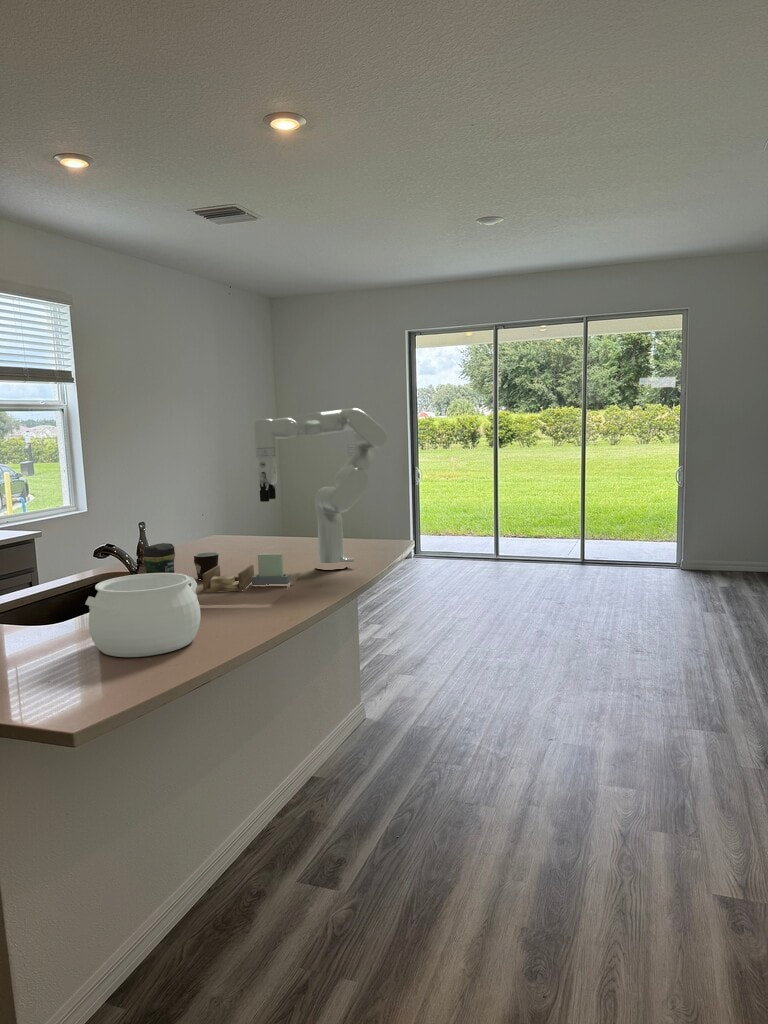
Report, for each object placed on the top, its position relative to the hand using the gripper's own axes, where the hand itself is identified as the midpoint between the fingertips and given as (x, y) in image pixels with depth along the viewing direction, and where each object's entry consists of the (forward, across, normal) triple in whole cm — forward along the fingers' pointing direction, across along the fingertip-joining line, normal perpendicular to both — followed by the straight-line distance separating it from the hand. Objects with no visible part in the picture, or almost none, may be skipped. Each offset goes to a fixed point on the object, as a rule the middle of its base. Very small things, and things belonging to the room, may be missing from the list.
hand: (268, 500), depth 254 cm
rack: (+28, -22, +9) cm, 37 cm away
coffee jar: (+28, -38, +26) cm, 54 cm away
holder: (+28, -20, -5) cm, 35 cm away
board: (+28, -20, -5) cm, 34 cm away
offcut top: (+25, -26, +10) cm, 37 cm away
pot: (+28, -84, +11) cm, 89 cm away
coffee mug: (+28, -7, +22) cm, 37 cm away
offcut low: (+27, -26, +9) cm, 39 cm away
